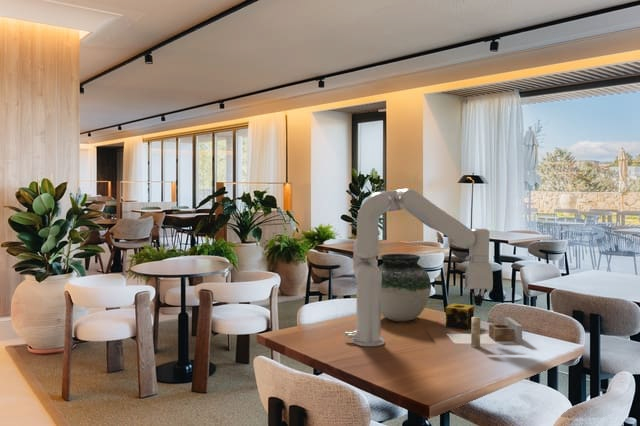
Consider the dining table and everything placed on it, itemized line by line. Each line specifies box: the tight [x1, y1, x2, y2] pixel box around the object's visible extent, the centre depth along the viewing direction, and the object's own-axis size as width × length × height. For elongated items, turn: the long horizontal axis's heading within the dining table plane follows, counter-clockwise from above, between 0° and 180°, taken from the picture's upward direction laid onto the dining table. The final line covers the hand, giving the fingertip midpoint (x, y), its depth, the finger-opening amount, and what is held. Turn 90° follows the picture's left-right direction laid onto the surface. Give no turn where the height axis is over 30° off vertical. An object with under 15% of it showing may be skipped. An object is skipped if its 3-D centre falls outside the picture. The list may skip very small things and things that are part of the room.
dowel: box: [470, 316, 481, 349], centre depth 195 cm, size 3×3×12 cm
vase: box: [377, 253, 432, 322], centre depth 243 cm, size 28×28×30 cm
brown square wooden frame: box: [488, 323, 514, 341], centre depth 206 cm, size 8×8×5 cm
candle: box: [445, 303, 475, 331], centre depth 226 cm, size 10×10×10 cm
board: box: [446, 316, 523, 345], centre depth 206 cm, size 26×14×8 cm, turn 89°
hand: (477, 305), depth 206 cm, fingers closed
